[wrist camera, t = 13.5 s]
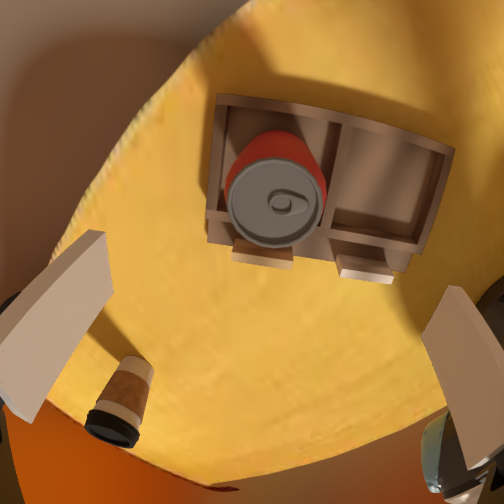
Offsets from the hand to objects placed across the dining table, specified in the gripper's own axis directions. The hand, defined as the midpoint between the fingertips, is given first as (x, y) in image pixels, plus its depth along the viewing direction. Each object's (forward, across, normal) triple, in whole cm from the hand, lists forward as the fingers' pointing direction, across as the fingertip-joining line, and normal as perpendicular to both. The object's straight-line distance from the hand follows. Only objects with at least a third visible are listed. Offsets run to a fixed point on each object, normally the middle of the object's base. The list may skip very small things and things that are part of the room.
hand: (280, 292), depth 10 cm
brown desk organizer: (+21, -5, +1) cm, 21 cm away
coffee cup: (+21, +18, +36) cm, 45 cm away
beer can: (+20, 0, 0) cm, 20 cm away
